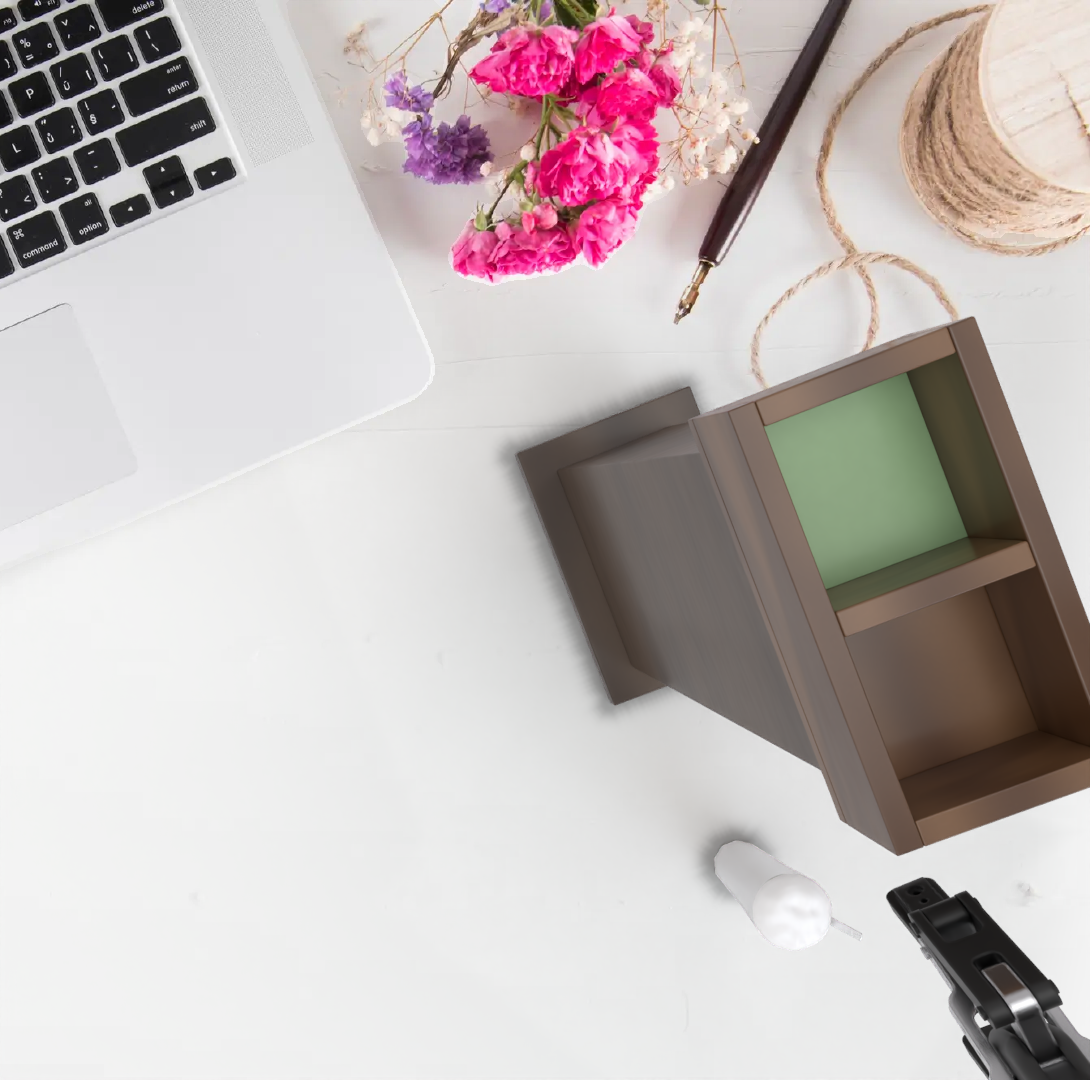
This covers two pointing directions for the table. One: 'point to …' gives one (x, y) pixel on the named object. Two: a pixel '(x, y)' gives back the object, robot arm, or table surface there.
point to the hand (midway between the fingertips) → (946, 962)
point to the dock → (910, 585)
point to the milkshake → (777, 897)
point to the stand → (659, 568)
